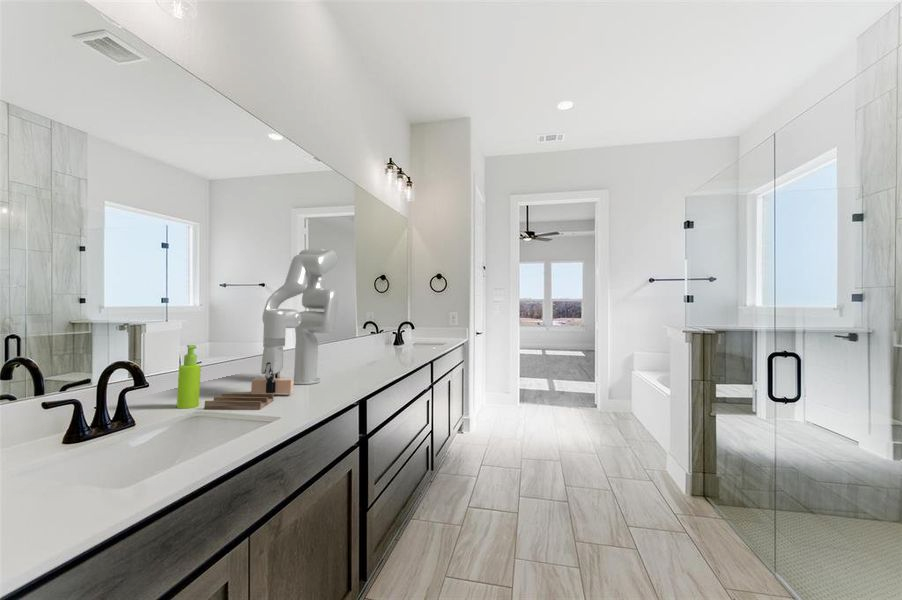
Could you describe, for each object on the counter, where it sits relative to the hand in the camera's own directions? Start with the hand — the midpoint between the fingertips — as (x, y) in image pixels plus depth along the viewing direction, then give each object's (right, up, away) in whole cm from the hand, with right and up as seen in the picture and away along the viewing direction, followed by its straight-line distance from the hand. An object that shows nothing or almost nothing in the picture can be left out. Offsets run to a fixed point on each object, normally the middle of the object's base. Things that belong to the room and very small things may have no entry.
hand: (272, 390), depth 144 cm
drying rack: (-4, -1, -15) cm, 16 cm away
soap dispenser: (-18, -1, -20) cm, 27 cm away
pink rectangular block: (0, -1, 0) cm, 1 cm away
